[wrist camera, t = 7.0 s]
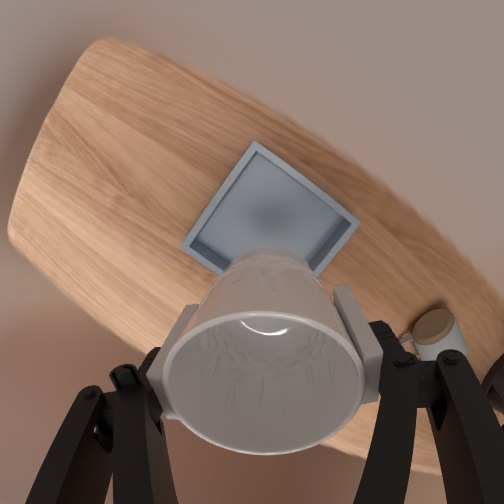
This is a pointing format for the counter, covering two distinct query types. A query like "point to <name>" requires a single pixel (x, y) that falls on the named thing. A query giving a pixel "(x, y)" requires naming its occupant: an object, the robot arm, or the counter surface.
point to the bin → (269, 216)
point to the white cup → (265, 360)
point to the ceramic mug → (436, 335)
